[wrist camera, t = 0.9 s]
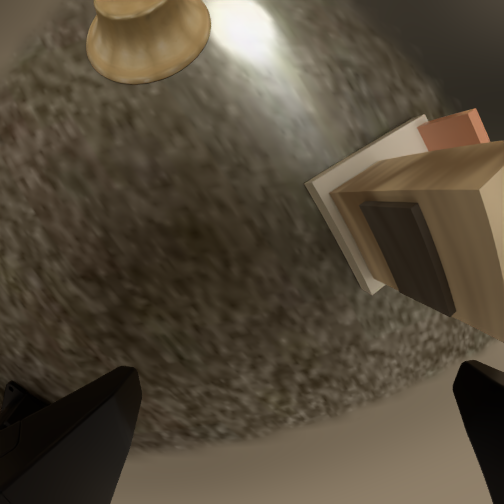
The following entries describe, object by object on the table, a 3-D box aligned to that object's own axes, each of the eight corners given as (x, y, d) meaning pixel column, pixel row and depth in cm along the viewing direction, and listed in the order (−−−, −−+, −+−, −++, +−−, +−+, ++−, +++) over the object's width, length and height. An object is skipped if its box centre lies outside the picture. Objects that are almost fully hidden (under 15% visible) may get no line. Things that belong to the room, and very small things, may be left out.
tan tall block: (368, 282, 19) (505, 354, 8) (323, 196, 17) (471, 196, 7) (418, 243, 19) (559, 280, 8) (379, 160, 18) (531, 137, 7)
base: (361, 289, 20) (417, 321, 14) (303, 183, 19) (350, 175, 12) (454, 213, 21) (517, 220, 14) (412, 118, 19) (474, 98, 13)
